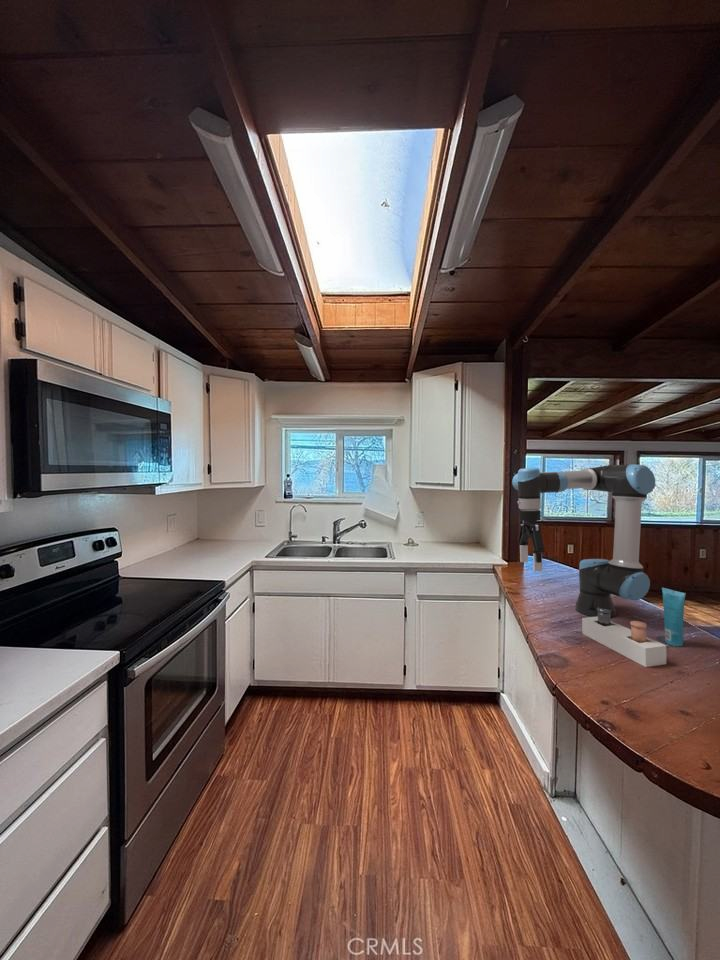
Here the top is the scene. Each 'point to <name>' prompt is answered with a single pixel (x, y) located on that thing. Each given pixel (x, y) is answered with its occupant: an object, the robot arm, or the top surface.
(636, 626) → the tan rounded peg
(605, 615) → the plunger graphite
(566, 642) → the top surface
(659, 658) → the block
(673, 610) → the tube
